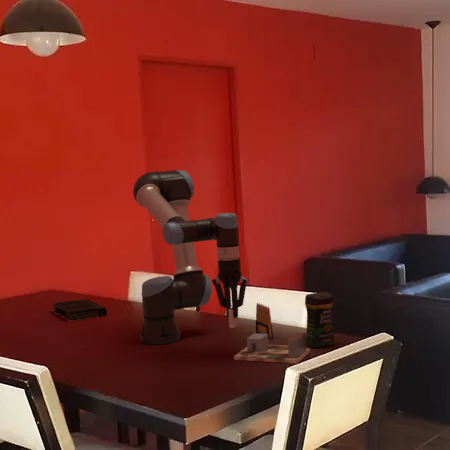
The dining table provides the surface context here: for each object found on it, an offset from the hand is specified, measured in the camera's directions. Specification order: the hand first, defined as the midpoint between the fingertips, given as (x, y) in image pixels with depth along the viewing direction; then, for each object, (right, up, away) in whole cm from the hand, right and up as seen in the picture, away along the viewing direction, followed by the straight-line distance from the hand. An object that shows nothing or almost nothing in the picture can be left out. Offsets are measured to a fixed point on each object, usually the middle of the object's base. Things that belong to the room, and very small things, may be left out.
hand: (233, 327), depth 253 cm
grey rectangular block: (+8, -8, -4) cm, 12 cm away
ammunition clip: (+12, -7, +23) cm, 27 cm away
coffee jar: (+31, -7, +7) cm, 32 cm away
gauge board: (+13, -9, -4) cm, 17 cm away
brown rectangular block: (+21, -8, -8) cm, 24 cm away
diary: (-69, -6, +81) cm, 106 cm away
